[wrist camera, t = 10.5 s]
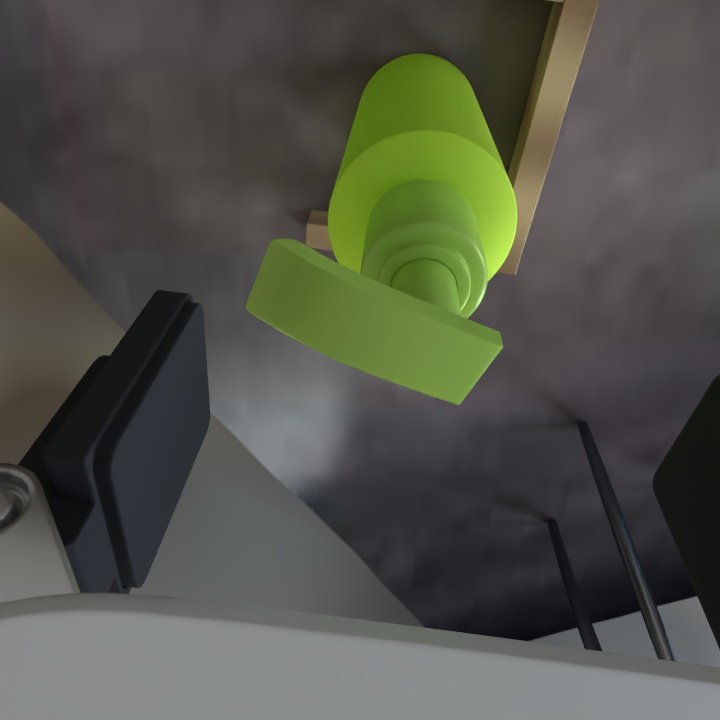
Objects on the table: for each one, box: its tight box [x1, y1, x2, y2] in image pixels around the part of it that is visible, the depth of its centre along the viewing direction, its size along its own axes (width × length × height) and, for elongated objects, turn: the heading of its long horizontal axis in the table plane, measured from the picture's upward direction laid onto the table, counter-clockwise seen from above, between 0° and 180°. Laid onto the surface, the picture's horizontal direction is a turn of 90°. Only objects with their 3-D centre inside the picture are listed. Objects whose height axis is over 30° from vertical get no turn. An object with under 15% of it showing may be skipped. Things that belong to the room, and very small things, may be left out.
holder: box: [305, 0, 599, 275], centre depth 28 cm, size 14×11×2 cm
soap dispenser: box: [246, 53, 517, 405], centre depth 20 cm, size 6×7×20 cm
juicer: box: [548, 422, 677, 662], centre depth 30 cm, size 10×11×30 cm
